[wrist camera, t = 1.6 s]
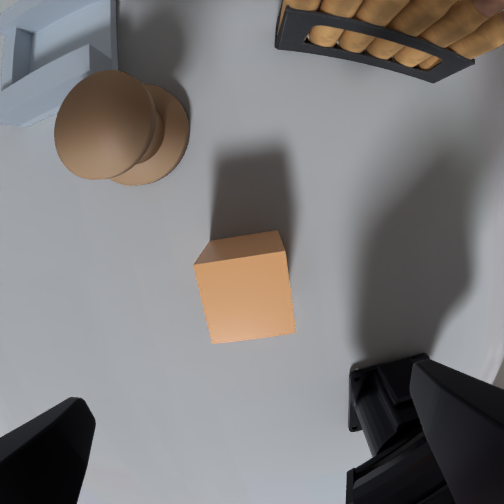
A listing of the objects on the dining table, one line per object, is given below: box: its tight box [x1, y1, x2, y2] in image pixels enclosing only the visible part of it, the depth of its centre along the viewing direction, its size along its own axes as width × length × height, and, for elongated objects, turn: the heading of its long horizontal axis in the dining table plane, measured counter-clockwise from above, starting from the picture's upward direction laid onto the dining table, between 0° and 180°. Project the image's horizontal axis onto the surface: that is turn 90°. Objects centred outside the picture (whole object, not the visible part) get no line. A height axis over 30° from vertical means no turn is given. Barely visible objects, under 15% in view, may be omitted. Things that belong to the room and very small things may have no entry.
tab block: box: [194, 230, 296, 344], centre depth 16 cm, size 4×4×5 cm
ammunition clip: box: [275, 0, 504, 83], centre depth 9 cm, size 11×2×12 cm, turn 85°
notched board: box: [0, 0, 119, 127], centre depth 13 cm, size 9×8×4 cm
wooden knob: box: [54, 70, 190, 186], centre depth 14 cm, size 6×6×6 cm
